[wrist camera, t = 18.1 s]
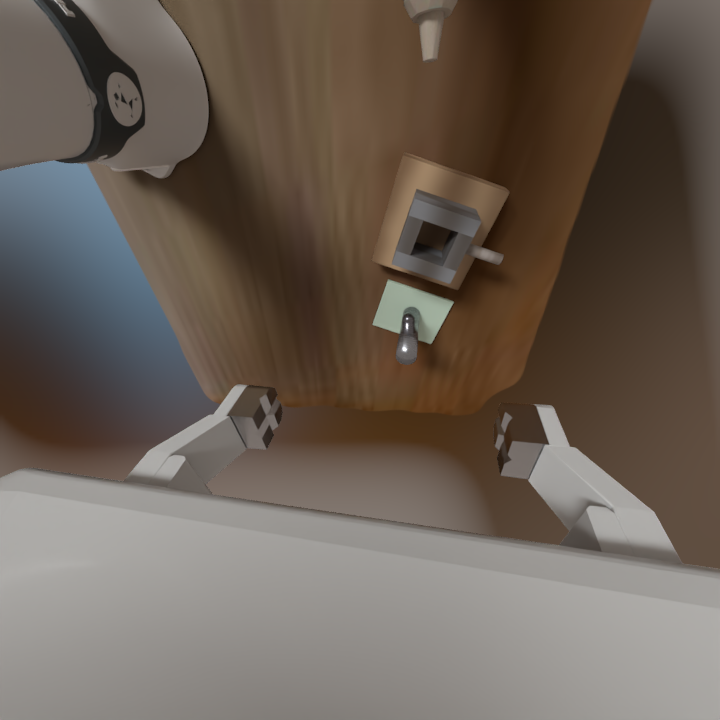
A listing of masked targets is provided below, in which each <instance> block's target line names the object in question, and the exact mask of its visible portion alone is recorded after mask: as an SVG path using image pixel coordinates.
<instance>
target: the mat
mask: <svg viewBox="0 0 720 720" xmlns="http://www.w3.org/2000/svg"><path fill="white" fill-rule="evenodd" d="M453 303H454V301H452V300H449V299H446V298H443V297H440V296H437V295H434V294H431V293H428V292H425V291H422V290H419V289H416V288H413V287H410V286H407V285H404V284H401V283H398V282H395V281H392V280H389V279H388V282H387V284H386V287H385V290H384V293H383V296H382V299H381V301H380V304H379V307H378V310H377V313H376V316H375V318H374V321H373V324H372V325H375V326H378V327H381V328H384V329H387V330H390V331H393V332H396V333H400V327H401V321H402V315H403V311H404V310H405V309H406V308H408V307H415V308H417V309H418V310H419V312H420V321H419V334H418V340H420V341H423V342H426V343H429V344H432V342H433V340H434V338H435V336H436V335H437V333H438V331H439V329H440V327H441V325H442V323H443V322H444V320H445V318H446V316H447V314H448V312H449V310H450V308H451V307H452V305H453Z"/></svg>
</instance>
